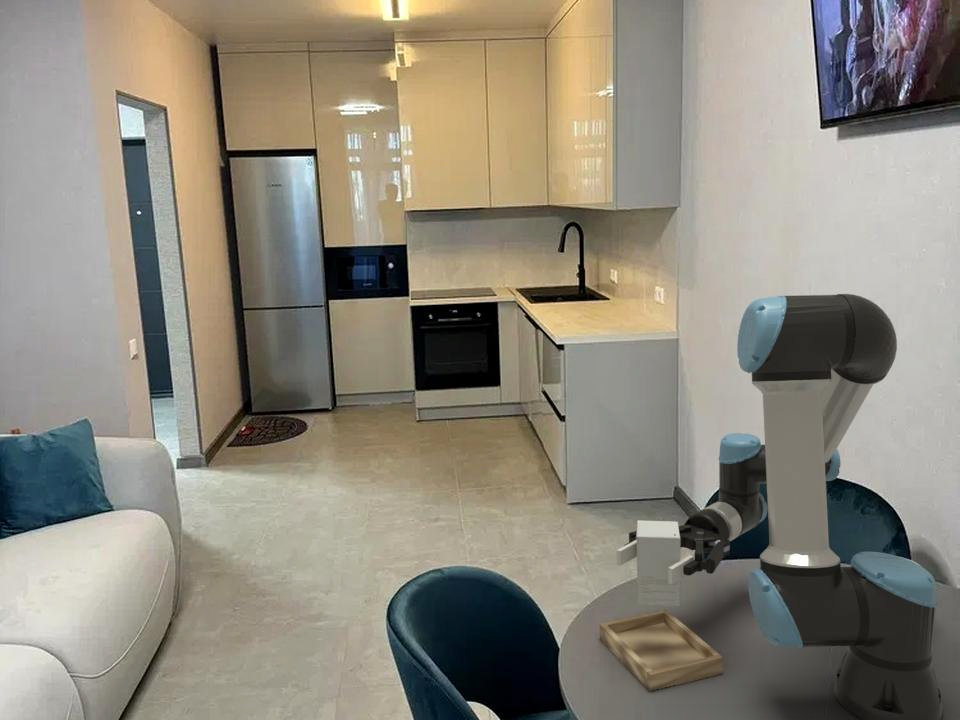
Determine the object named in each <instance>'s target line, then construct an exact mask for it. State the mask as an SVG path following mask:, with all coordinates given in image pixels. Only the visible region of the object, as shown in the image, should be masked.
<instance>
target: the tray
mask: <svg viewBox="0 0 960 720" xmlns="http://www.w3.org/2000/svg"><path fill="white" fill-rule="evenodd" d="M599 640H601V642H603V644H604V645H605V646H606V647H607V648H608V649H609V650H610V651H611V653H613V654H614V655H615V656H616V657H617V659H618V660H619V661H620V662H621V663H622V664H623V665H624V666H625V667H626V668H627V670H629V671H630V673H632V674H633V675H634V676H635V677H636V678H637V680H638V681H639V682H640V683H641V684H642V685H643V686H644V687H645V688H646V689H647V690H648V692H650V691H651V692H654V691H653V690H655V691H658V690H657V689H659V690H662V688H663V689H666V688H665V687H667V688H670V687H669V686H671V687H674V686H673V685H675V686H679V685H683V684H687V683H692V682H695V681H698V680H699V681H700V680H703V679H706V677H707V678H711V677H715V676H718V675H722V674H723V673H724V657H723V656H722V655H721V654H720V653H719V652H717V651H716V650H715V649H714V648H713V647H712V646H710V645H709V644H708V643H706V642H705V641H704V640H703V639H702V638H701V637H700V636H698V635H697V634H696V633H695V632H693V631H692V629H690V628H689V627H688V626H686V625H685V624H684V623H683V622H681V620H679V619H678V618H677V617H675V616H674V615H673V614H672V613H671V612H669V611H668V610H667V609H661V610H657V611H654V612H653V611H652V612H649V613H643V614H639V615H634V616H630V617H625V618H621V619H617V620H611V621H610V620H609V621H606V622H602V623H601V622H600V623H599Z"/></svg>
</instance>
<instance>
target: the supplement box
mask: <svg viewBox="0 0 960 720" xmlns="http://www.w3.org/2000/svg"><path fill="white" fill-rule="evenodd" d="M636 521H637V522H636V523H637V525H636V531H637V534H636V539H637V557H636V572H637V573H636V574H637V575H636V576H637V577H636V579H637V581H636V582H637V583H636V584H637V586H636V587H637V603H638V605H651V606H652V605H653V606H656V605H657V606H674V607H681V579H680V580H679V581H677V582H675V583H674V584H670V583H668V568H669V567H671V566H672V565H674V564H676V563H677V562H679V561H681V547H680V542H681V539H680V533H679V527H678V526H679V522H678V521H673V520H671V521H668V520H665V521H663V520H662V521H661V520H640V519H639V520H636Z"/></svg>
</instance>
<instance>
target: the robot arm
mask: <svg viewBox="0 0 960 720" xmlns="http://www.w3.org/2000/svg"><path fill="white" fill-rule="evenodd" d="M742 315H743V316H742V318H741V321H740V324H739V329H738V334H737V336H738V337H737V348H736V349H737V358H738V364H739V366H740V369H741V370H742V371H744V372H746V373H748V374H751V384H752V385H753V386H754V387H755V388H757V389H758V390H759V391H760V393H761V394H762V407H763V408H762V409H763V431H764V444H761V439H760V438H759V437H758V436H757V435H754V434H752V433H751V434H750V433H742V432H735V433H729V434H726V435H724V436H723V437H722V438H721V440H720V445H719V456H718V461H719V462H718V465H719V467H718V468H719V472H718V473H719V478H718V479H719V482H718V483H719V485H718V486H719V488H718V489H719V490H718V500H717V501H715V502H713V503H712V504H710V505H708V506H706V507H704V508H702V509H701V510H699V511H697V512H695V513H694V514H692V515H689V517H688V518H687V520H686V521H685V523H684V524H683V525H678V527H679V533H680V539H681V542H680V548H685V549H688V550H690V551H695V552H694V556H693V555H690V554H689V555H688V556H686V557H684V558H682V559H680V561H679V562H677V563H676V564H674V565H672V566H671V567H669V568H668V583H670V584H674V583H675V582H677V581H679V580H680V581H681V580H682V579H683V578H685V577H687V576H691V575H693V574H695V573H697V572H701V573H702V571H703V570H704V571H706V573H707V574H711V575H712V574H713V573H714V572H716V570H717V568H718V566H719V565H720V564H721V561H723V559H724V557H726V556H729V555H730V549H731V546H730V545H731V544H730V543H731V542H732V541H733V540H735V539H736V538H738V537H740V536H742V535H743V534H746V532H749V531H750V530H752V529H755V528H756V527H757V526H758V525H760V523H762V522H763V521H764V520H765V518H766V517H768V538H769V544H768V546H767V548H766V549H764V550H763V551H762V552H761V553H760V554H759V555H760V556H759V564H760V565H759V567H760V568H758V567H755V568H754V569H751V570H750V571H749V572H748V579H747V590H748V596H749V601H750V605H751V609H752V613H753V616H754V618H755V622H756V624H757V626H758V628H759V631H760V633H761V634H762V635H763V637H764V638H765V640H766V641H767V642H768V643H770V644H771V645H773V646H775V647H779V648H780V647H783V648H797V649H803V648H817V647H818V648H819V647H847V649H846V651H845V653H844V655H843V657H842V660H841V662H840V665H839V667H838V669H837V671H836V672H835V677H834V685H833V686H834V690H833V691H834V695H835V698H836V700H837V701H838V703H839V704H840V705H841V706H843V708H844V709H845V710H847V712H850V713H851V714H852V715H853V716H856V717H857V718H860V719H861V720H941V719H942V715H943V703H944V702H943V701H944V700H943V696H942V692H941V690H940V689H939V687H938V682H937V677H936V673H935V670H934V667H933V651H934V637H935V624H936V623H935V622H936V611H937V610H936V609H937V608H936V607H938V600H937V597H938V596H937V583H936V580H935V578H934V576H933V575H932V574H931V572H929V571H928V570H927V569H926V568H925V567H923V566H921V565H920V564H919V563H918V564H919V565H918V564H916V563H917V562H916V563H914V562H915V561H914V562H912V561H913V560H912V561H909V560H910V559H909V560H907V559H908V558H906V559H904V558H905V557H903V558H901V557H902V556H897V555H894V554H889V553H886V552H879V551H878V552H877V551H860V552H858V553H856V554H854V555H853V556H852V559H851V560H850V566H842V565H841V564H842V563H841V559H840V557H839V556H838V555H837V554H836V553H835V552H834V551H833V550H832V549H831V548H830V544H829V543H830V542H829V539H830V538H829V524H828V523H829V522H828V505H827V502H828V500H827V482H831V481H834V480H836V479H837V477H839V475H840V469H841V456H840V452H839V450H838V447H839V446H840V444H841V442H842V440H843V439H844V437H845V435H846V433H847V431H848V430H849V428H850V426H851V424H852V423H853V421H854V419H855V417H856V416H857V414H858V412H859V411H860V409H861V407H862V405H863V404H864V402H865V400H866V398H867V396H868V394H869V393H870V391H871V389H872V387H873V386H874V385H875V384H878V383H880V382H882V381H883V380H884V379H885V378H886V376H887V375H888V373H889V371H890V369H892V367H893V364H894V362H895V359H896V356H897V350H898V349H897V347H898V346H897V345H898V341H897V333H896V330H895V327H894V325H893V323H892V321H891V319H890V318H889V316H888V314H887V313H886V312H885V311H884V310H883V309H882V308H881V307H880V306H879V305H878V304H876V303H875V302H874V301H872V300H870V299H868V298H866V297H863V296H860V295H856V294H851V293H837V294H817V295H816V294H815V295H814V294H813V295H810V294H809V295H806V294H803V295H778V296H777V295H776V296H768V297H761V298H756V299H754V300H753V301H751V302H750V304H749V305H747V307H746V308H745V310H744V313H743V314H742ZM761 484H766V493H767V494H766V495H767V497H766V498H767V501H766V500H765V496H763V494H762V493H761V492H760V485H761ZM767 515H768V516H767ZM636 534H637V530H635V531H632V532H629V533H628V542H627V543H625V544H624V545H623V546H622V547H620V548H618V549H616V566H617V565H618V566H620V567H621V566H622V565H624V564H626V563H628V562H630V561H632V560H633V559H635V558H637V539H636ZM704 553H705V554H706V553H707V554H708V555H707V557H706V558H704Z"/></svg>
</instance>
